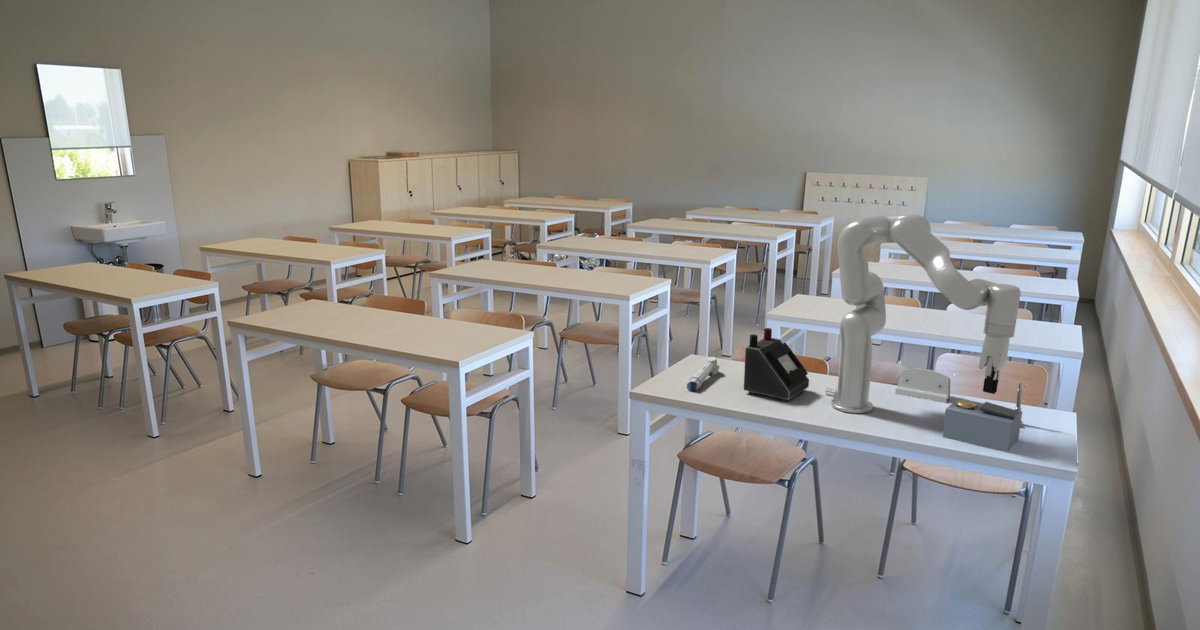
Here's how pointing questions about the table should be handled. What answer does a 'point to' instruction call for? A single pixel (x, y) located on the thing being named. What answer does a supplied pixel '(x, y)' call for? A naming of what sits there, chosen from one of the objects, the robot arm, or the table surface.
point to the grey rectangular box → (981, 427)
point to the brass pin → (966, 404)
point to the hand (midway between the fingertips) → (989, 392)
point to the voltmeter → (773, 368)
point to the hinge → (924, 384)
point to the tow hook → (1019, 398)
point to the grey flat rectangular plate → (1000, 410)
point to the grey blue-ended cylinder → (703, 374)
